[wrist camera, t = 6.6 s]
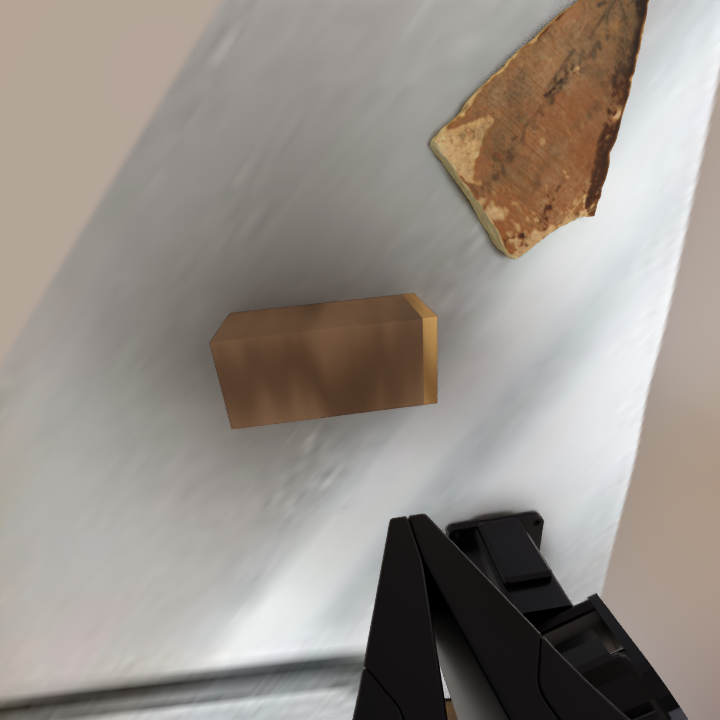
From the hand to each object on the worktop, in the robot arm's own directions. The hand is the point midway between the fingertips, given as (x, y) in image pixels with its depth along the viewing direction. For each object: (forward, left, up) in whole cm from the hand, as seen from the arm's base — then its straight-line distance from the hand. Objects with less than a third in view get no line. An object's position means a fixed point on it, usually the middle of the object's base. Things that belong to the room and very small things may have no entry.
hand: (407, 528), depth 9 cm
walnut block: (0, -3, -10) cm, 10 cm away
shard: (+10, -8, -13) cm, 18 cm away
